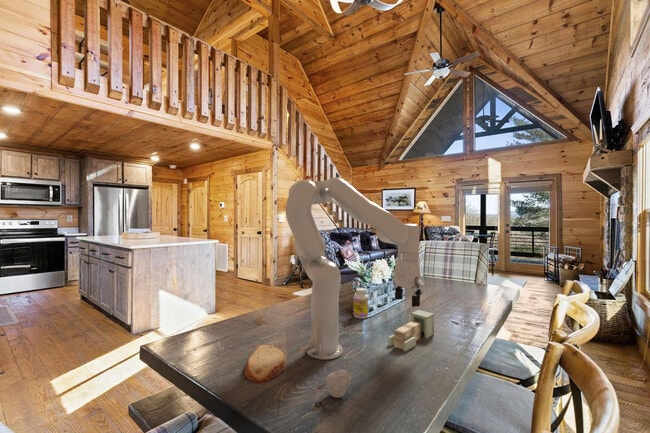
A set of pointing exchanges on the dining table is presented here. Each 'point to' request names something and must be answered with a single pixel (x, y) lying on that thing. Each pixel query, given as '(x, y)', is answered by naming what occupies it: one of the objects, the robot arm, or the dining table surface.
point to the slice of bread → (265, 364)
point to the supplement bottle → (361, 303)
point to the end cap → (424, 322)
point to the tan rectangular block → (407, 333)
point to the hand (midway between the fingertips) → (406, 302)
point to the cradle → (406, 344)
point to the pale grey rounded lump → (338, 383)
